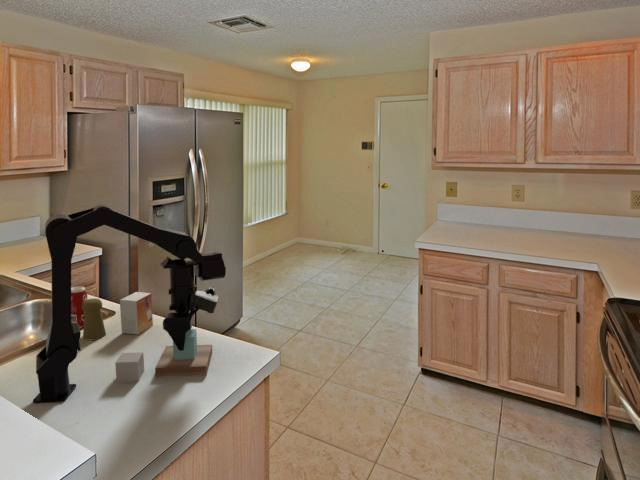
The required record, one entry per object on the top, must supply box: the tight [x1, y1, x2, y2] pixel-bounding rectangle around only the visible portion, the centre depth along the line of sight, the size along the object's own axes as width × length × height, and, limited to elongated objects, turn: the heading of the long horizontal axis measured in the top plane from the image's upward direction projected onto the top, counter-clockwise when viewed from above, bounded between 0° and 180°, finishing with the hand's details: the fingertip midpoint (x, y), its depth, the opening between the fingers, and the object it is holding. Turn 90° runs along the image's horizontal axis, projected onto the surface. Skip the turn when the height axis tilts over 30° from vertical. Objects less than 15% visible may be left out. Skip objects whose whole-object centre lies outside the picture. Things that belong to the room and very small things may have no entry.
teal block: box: [172, 328, 198, 360], centre depth 111 cm, size 5×5×6 cm
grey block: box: [115, 351, 145, 383], centre depth 105 cm, size 5×5×5 cm
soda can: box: [71, 285, 89, 329], centre depth 133 cm, size 5×5×12 cm
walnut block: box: [154, 344, 213, 378], centre depth 112 cm, size 12×12×3 cm
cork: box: [82, 298, 107, 341], centre depth 126 cm, size 6×6×11 cm
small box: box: [119, 291, 154, 335], centre depth 132 cm, size 8×6×10 cm
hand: (184, 342), depth 111 cm, fingers open, 9 cm apart
